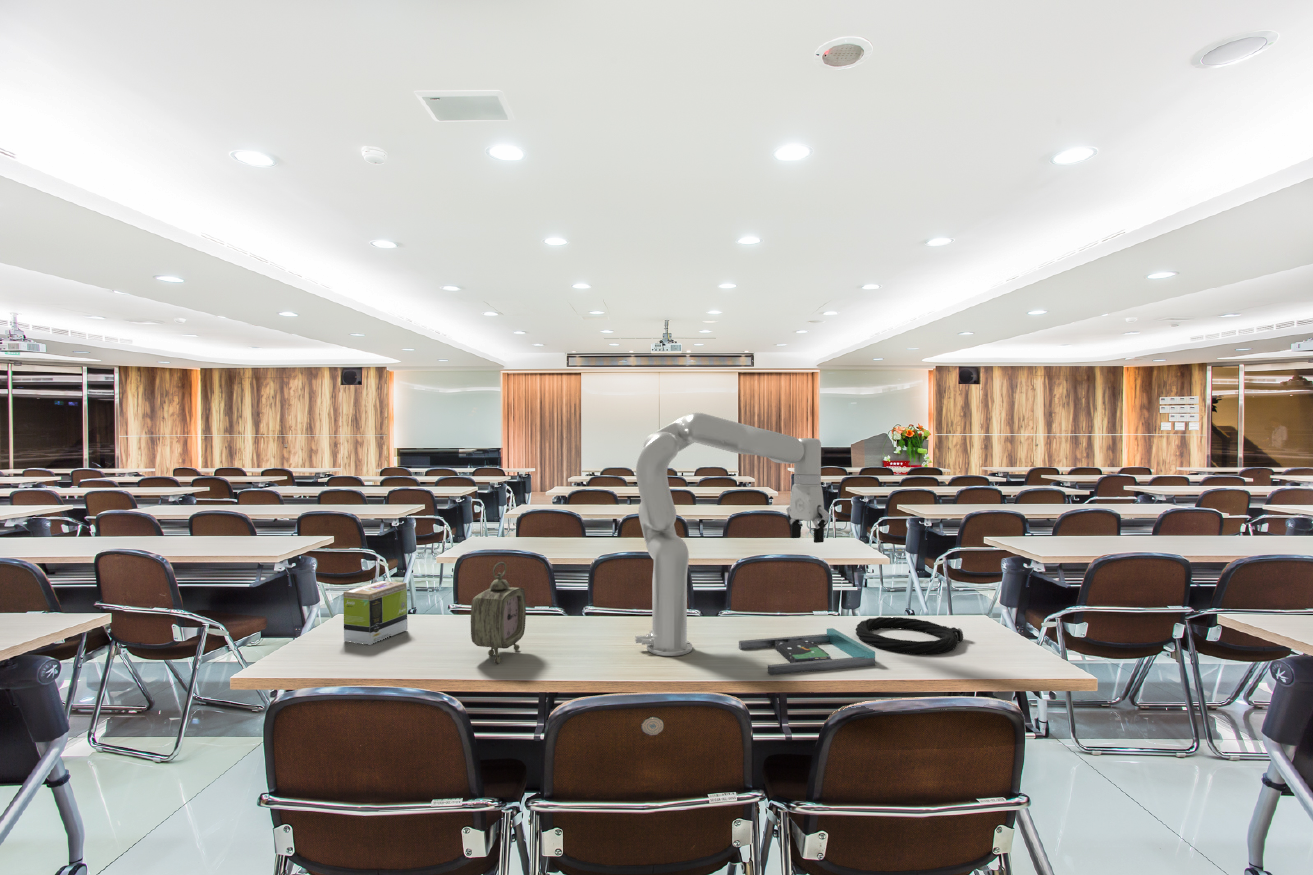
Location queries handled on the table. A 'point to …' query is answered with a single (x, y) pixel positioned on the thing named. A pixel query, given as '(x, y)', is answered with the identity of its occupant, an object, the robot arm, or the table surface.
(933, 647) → the cable lock
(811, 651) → the disk drive
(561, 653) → the table surface
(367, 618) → the tea box
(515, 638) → the tabletop clock
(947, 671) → the table surface
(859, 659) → the guide track
